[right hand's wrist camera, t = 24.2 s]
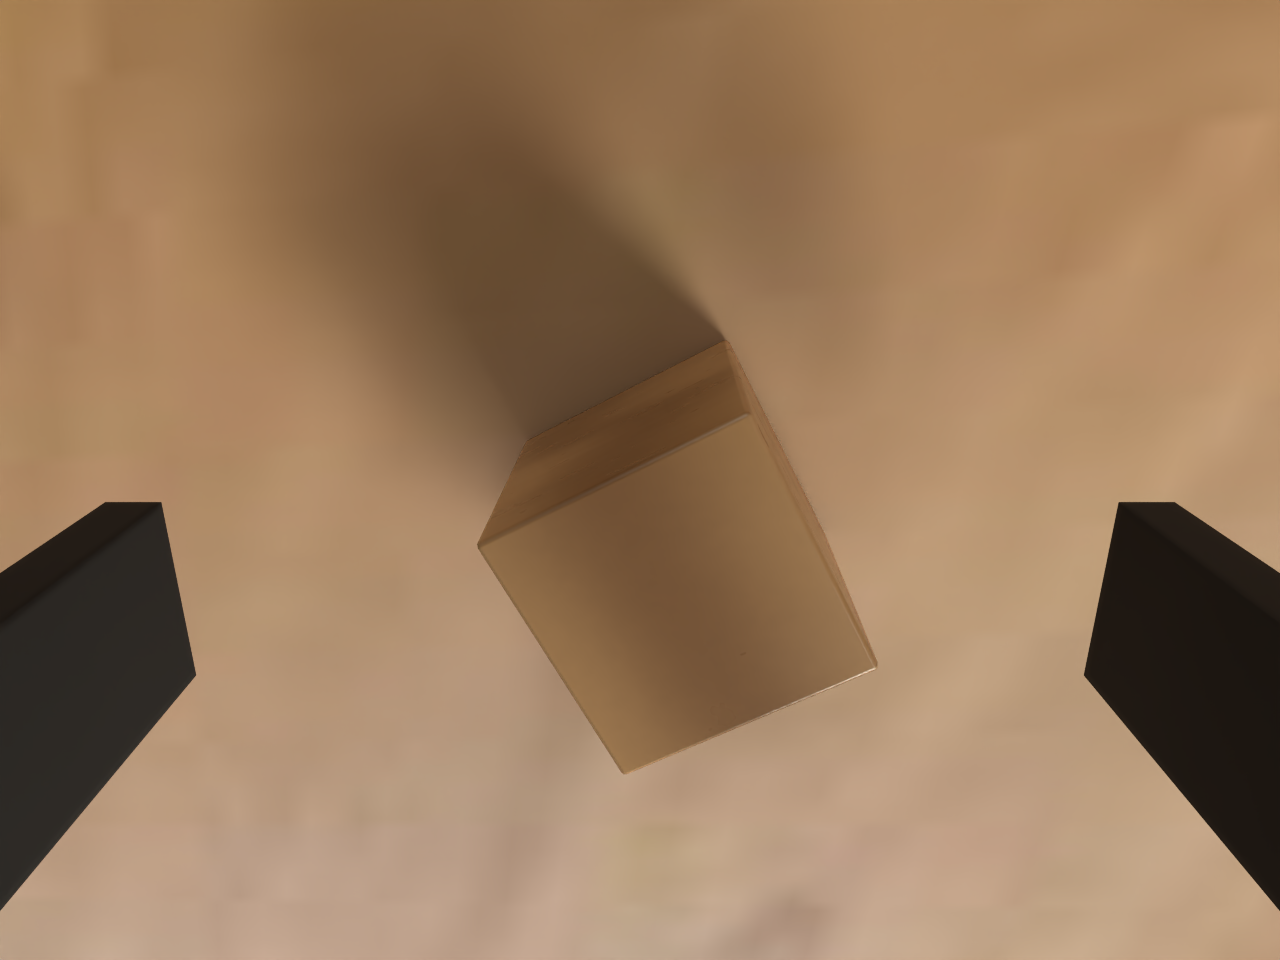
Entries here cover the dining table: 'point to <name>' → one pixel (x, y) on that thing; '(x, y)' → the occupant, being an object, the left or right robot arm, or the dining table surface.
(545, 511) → the block
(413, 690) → the dining table surface
